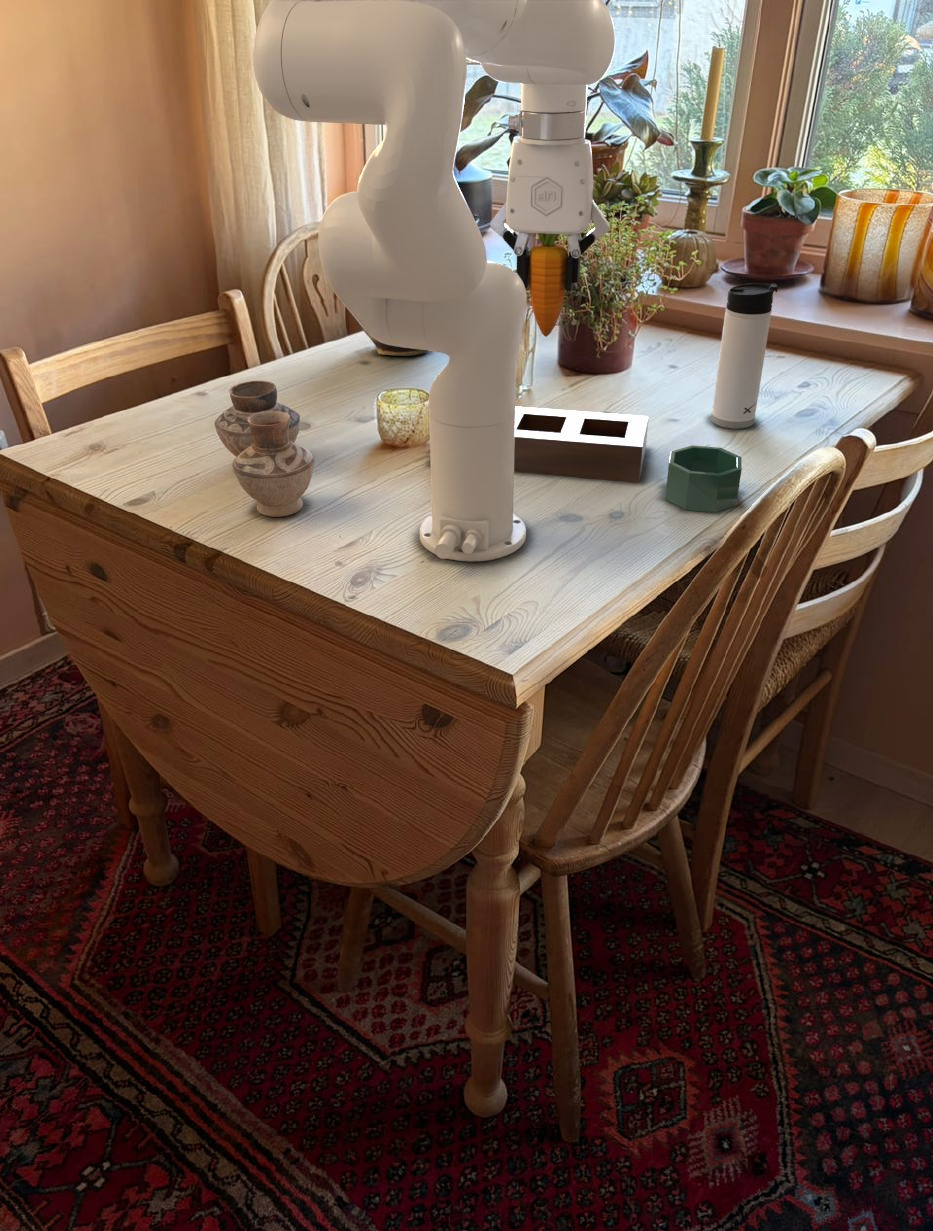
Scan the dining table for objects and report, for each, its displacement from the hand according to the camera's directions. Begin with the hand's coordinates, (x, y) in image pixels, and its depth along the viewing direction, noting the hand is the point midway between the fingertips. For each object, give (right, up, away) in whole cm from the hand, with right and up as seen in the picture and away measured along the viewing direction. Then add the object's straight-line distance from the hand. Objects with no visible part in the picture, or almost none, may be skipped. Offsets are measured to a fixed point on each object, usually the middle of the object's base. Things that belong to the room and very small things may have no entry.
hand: (547, 286), depth 124 cm
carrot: (0, -6, +4) cm, 7 cm away
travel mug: (+30, -13, +23) cm, 40 cm away
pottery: (-36, -24, +6) cm, 44 cm away
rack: (0, -20, +12) cm, 23 cm away
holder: (+20, -26, +2) cm, 33 cm away
